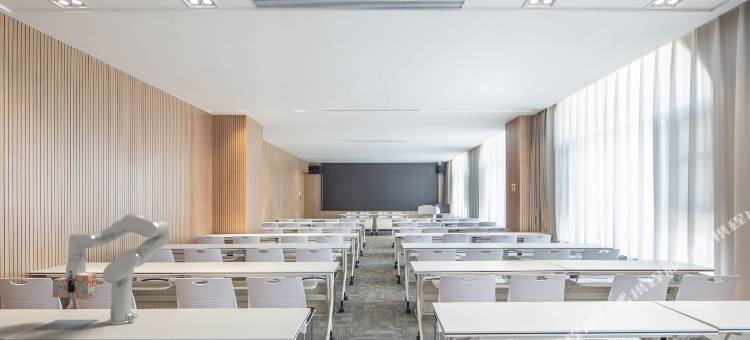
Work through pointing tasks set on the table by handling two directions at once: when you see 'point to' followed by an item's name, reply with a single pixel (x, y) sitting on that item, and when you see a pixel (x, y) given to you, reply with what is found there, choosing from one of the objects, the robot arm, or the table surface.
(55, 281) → the stack of blocks
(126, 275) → the robot arm
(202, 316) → the table surface
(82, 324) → the mat
